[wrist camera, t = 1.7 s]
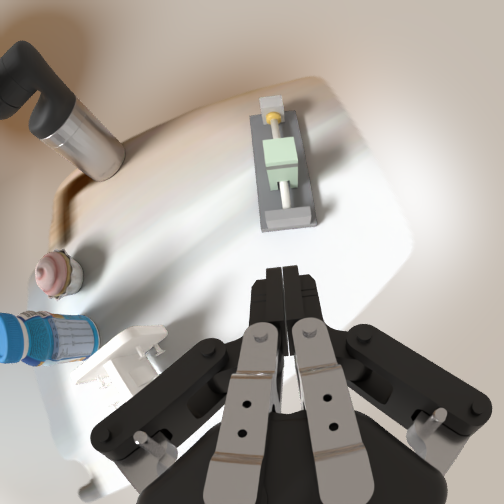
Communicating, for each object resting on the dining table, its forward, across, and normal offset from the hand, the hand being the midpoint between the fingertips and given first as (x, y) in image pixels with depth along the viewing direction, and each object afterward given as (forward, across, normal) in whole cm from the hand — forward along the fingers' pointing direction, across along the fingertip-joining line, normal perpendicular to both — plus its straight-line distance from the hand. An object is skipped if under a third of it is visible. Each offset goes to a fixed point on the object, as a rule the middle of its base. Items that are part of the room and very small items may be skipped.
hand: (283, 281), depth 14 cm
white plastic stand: (+12, +21, +26) cm, 35 cm away
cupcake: (+24, +39, +14) cm, 47 cm away
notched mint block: (+30, -1, +4) cm, 30 cm away
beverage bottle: (+16, +36, +22) cm, 45 cm away
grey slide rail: (+34, -1, +3) cm, 34 cm away
